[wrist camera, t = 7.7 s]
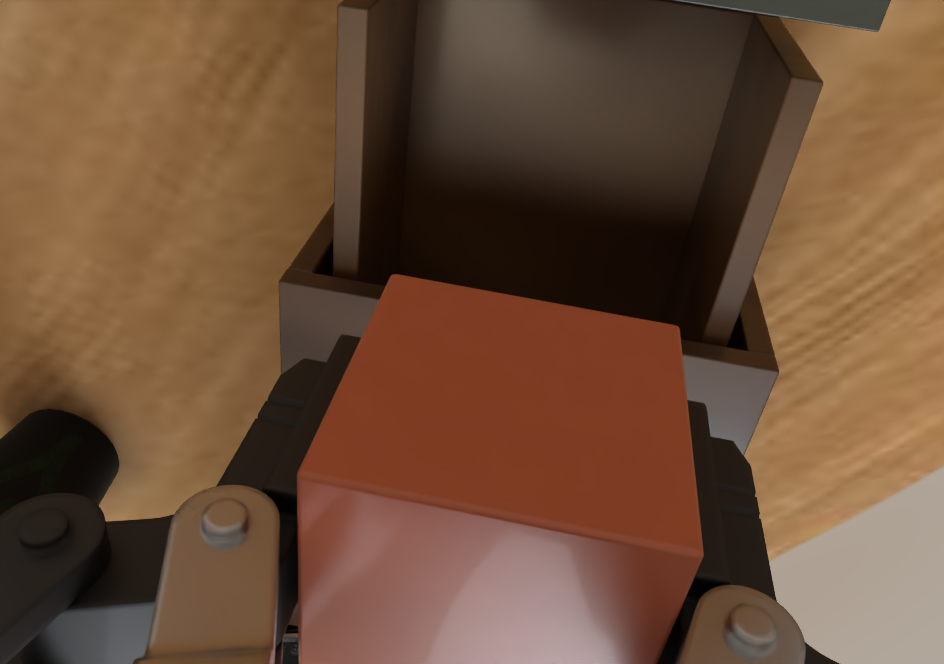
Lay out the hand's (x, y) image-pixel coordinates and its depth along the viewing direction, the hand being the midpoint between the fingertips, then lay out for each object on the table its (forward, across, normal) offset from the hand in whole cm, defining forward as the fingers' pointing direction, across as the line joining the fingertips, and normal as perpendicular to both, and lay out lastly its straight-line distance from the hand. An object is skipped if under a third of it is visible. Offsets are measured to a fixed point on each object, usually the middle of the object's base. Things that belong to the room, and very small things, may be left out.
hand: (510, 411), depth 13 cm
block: (0, 0, 0) cm, 0 cm away
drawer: (+18, 0, 0) cm, 18 cm away
